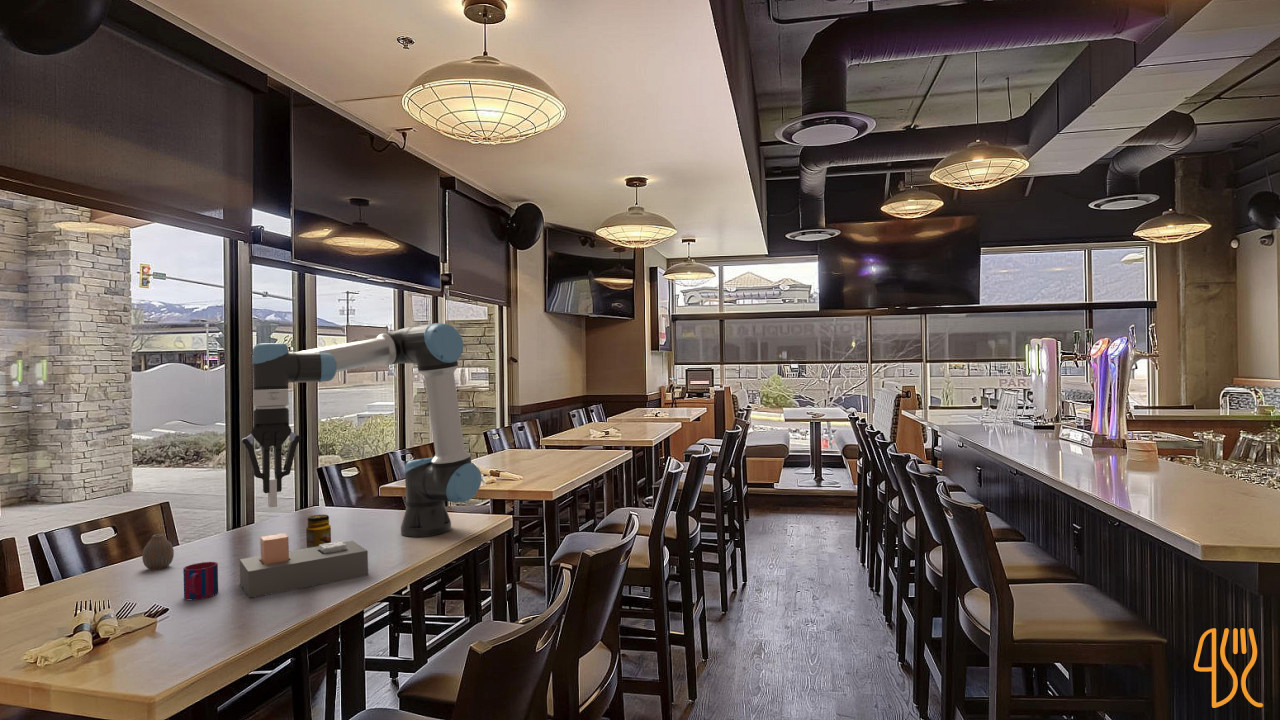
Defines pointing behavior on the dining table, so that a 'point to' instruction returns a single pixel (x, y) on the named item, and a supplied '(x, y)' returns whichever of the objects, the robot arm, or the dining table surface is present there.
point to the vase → (158, 553)
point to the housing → (302, 569)
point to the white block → (332, 547)
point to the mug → (200, 580)
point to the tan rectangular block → (274, 548)
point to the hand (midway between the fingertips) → (272, 506)
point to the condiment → (318, 530)
